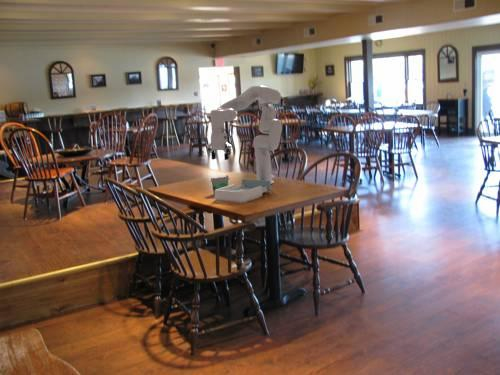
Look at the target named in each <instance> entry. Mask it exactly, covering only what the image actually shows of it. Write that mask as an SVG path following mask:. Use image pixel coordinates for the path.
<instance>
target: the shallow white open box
mask: <svg viewBox="0 0 500 375" xmlns="http://www.w3.org/2000/svg"><path fill="white" fill-rule="evenodd" d="M234 187H237V185H236V183H233V184H228V186H226V187H223V188H219V189H216V190H215V194H214V201H220V202H229V203H239V204H245V203H248V202H250V201H253V200H256V199H259V198H261V197H263V193H262V186H258V187H256V188H253V189H250V190H247V191H244V192H238V191H227V190H228V189H231V188H234Z"/></svg>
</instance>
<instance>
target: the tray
mask: <svg viewBox="0 0 500 375" xmlns="http://www.w3.org/2000/svg"><path fill="white" fill-rule="evenodd" d="M258 186H262V194H264V193H266V192H271V191H272V188H271V184H270V181H264V180H257V179H249V178H242V179H241V184H240V185H236V187H234V188H231V189H228V190H227V191H238V192H244V191H247V190H250V189H253V188H256V187H258Z"/></svg>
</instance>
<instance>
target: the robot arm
mask: <svg viewBox="0 0 500 375" xmlns="http://www.w3.org/2000/svg"><path fill="white" fill-rule="evenodd" d="M281 100H282V94H281V92H280V91H279V90H277V89H275V88H271V87H268V86H265V85H252V86H249V87H248V88H247V89H246V90H245V91H243V92H242V93H241V94H239V95H238V96H236V97H235V98H232V99H231V100H229V101H226V102H224V103H223V104H222V105H221V106H219V107H218V108H217V109H212V110H211V111H210V124H211V125H210V126H211V135H210V143H209V144H208V145H207V148H208V150H209V152H210V153H211V155H210V156H211V160H215V159H217V158H216V157H217V156H216V151H223V153H224V154H223V156H224V161H226V160H229V159H230V156H229V154H230V151H231V150H232V148H233V147H232V145H231V144H230V143H229V140H228V135H227V133H226V131H227V129H226V128H225V122H233V121H234V120H235V119H236V118H237V112H238V111H242V110H245V109H247V108H248V107H249V106H251V105H252V104H253V103H254V102H256V101H257V102H259V104H260V106H261V110H262V111H261V117H260V120H259V121H260V122H259V126H258V130H259V132H260V133H262V134H259V135H257V136H255V137H254V138H253V142H252V143H253V148H254V152H255V167H256V180H264V181H270V185H272V184H274V183H275V181H274V180H273V179H275V175H273V174H272V163H271V154H270V151H275V150H277V148H278V147H279V145H280V141H281V135H282V133H283V132H282V131H283V123H282V122H281V120H280V119H277V118H276V117H275V116H276V108H275V107H274V105H275V104H276V105H277V104H278V103H280V101H281ZM266 134H268V135H266Z"/></svg>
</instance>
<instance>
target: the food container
mask: <svg viewBox="0 0 500 375" xmlns="http://www.w3.org/2000/svg"><path fill="white" fill-rule="evenodd" d="M229 180H230V177H229V175H228V174H226V176H221V177H217V178H216V177H215V178H214V177H211V179H210V182H211V185H212V192H213V195H215V190H216V189H219V188H223V187H226V186H229Z"/></svg>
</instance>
